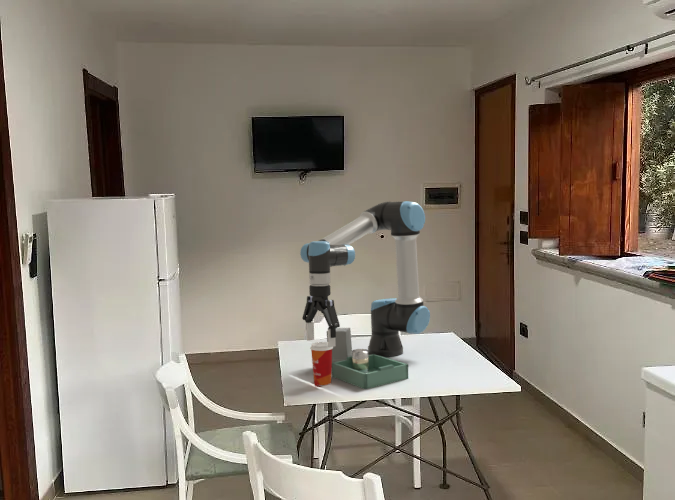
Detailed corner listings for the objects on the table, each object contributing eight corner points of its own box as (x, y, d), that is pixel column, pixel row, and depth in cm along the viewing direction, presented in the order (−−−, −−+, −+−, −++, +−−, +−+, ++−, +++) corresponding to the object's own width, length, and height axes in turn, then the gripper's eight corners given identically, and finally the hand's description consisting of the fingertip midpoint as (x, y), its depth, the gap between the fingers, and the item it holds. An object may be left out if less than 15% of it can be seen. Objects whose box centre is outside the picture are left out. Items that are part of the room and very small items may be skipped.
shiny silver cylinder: (349, 374, 246) (348, 350, 246) (362, 371, 250) (361, 348, 249) (359, 377, 242) (358, 353, 241) (372, 374, 245) (371, 350, 244)
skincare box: (353, 366, 260) (352, 327, 259) (347, 371, 253) (346, 330, 252) (333, 365, 263) (332, 326, 261) (327, 369, 256) (326, 329, 255)
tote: (332, 378, 244) (331, 360, 243) (373, 369, 255) (373, 351, 255) (365, 391, 227) (365, 371, 227) (408, 380, 239) (408, 361, 238)
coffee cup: (310, 382, 240) (309, 341, 239) (333, 380, 241) (332, 340, 240) (311, 388, 232) (310, 347, 231) (335, 387, 233) (333, 346, 231)
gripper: (292, 282, 241) (293, 338, 243) (331, 289, 221) (332, 351, 223) (309, 280, 245) (310, 336, 247) (349, 287, 225) (350, 347, 227)
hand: (320, 343), depth 235 cm, fingers open, 13 cm apart
